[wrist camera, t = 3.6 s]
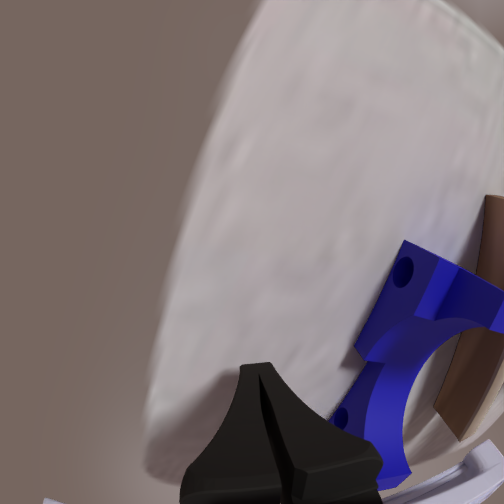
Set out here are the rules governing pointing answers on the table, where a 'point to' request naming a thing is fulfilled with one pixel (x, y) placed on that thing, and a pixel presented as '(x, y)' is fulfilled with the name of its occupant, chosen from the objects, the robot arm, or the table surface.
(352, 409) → the cable clip
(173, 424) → the table surface
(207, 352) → the table surface
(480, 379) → the bar
